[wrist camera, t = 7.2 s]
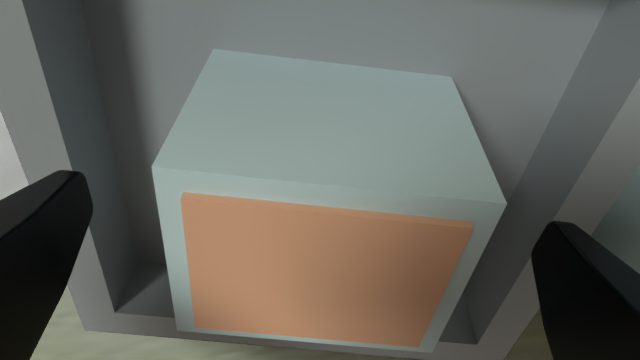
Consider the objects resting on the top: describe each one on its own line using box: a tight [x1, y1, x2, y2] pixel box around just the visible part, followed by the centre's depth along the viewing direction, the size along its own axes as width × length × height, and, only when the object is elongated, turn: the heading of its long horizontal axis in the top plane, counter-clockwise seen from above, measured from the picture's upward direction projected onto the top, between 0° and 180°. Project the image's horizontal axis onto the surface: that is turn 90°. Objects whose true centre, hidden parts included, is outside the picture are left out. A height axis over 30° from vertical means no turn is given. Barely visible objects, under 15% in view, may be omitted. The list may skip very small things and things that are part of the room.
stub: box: [152, 49, 507, 353], centre depth 9 cm, size 4×5×4 cm
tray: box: [0, 0, 640, 360], centre depth 10 cm, size 12×12×3 cm
